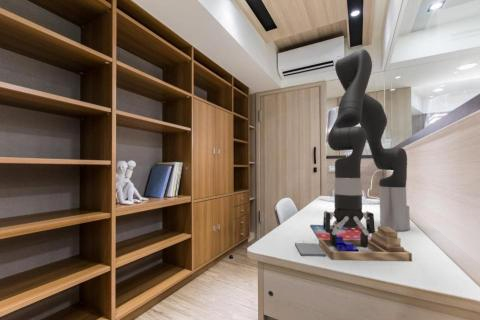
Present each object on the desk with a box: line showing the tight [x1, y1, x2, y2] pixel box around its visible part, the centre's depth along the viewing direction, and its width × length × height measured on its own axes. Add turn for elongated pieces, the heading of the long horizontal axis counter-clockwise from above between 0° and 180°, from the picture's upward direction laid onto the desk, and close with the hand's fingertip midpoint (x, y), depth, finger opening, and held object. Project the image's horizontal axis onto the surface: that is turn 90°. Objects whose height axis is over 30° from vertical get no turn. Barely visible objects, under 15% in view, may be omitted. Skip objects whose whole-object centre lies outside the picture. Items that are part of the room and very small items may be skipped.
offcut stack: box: [370, 226, 405, 252], centre depth 66 cm, size 5×9×6 cm, turn 177°
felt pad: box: [294, 242, 327, 257], centre depth 68 cm, size 7×9×1 cm
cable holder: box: [334, 235, 360, 252], centre depth 67 cm, size 8×4×4 cm, turn 0°
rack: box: [318, 239, 413, 262], centre depth 67 cm, size 21×12×2 cm, turn 87°
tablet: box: [310, 224, 371, 249], centre depth 83 cm, size 19×25×1 cm
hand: (348, 246), depth 67 cm, fingers open, 8 cm apart
